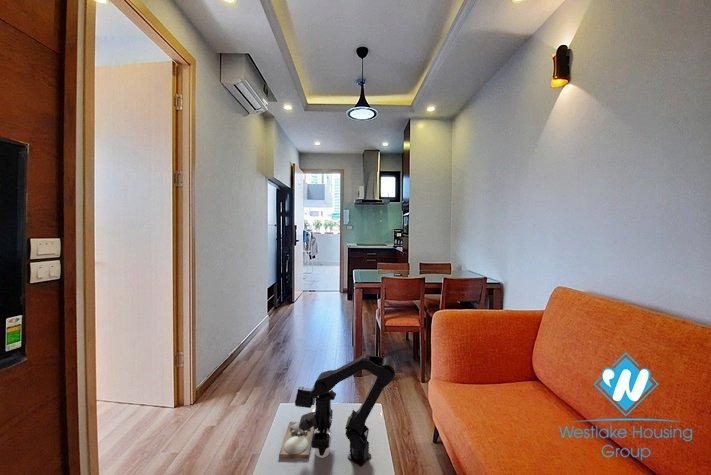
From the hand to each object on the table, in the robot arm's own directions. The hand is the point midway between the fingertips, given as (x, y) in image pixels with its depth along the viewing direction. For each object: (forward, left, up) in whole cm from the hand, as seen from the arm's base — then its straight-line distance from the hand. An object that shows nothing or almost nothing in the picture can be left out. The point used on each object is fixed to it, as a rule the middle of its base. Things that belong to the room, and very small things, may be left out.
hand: (322, 448), depth 109 cm
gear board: (+12, +2, -1) cm, 12 cm away
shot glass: (0, 0, -1) cm, 1 cm away
